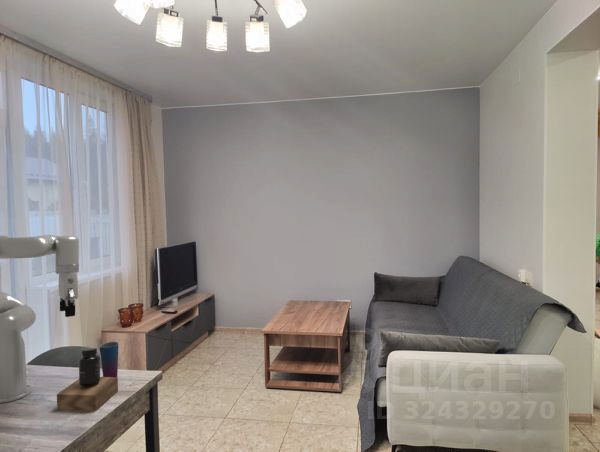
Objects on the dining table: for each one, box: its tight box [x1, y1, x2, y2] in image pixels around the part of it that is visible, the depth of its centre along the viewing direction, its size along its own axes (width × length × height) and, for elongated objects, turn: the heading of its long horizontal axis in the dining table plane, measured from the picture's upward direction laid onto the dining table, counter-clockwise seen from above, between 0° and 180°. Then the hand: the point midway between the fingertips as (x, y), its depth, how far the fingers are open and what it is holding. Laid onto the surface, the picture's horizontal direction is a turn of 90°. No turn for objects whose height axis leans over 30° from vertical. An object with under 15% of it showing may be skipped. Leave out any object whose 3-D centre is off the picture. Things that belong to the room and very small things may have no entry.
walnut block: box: [56, 376, 119, 412], centre depth 140 cm, size 14×14×6 cm
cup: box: [99, 341, 119, 377], centre depth 155 cm, size 7×7×15 cm
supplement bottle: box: [78, 347, 101, 385], centre depth 141 cm, size 7×7×12 cm
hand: (67, 313), depth 146 cm, fingers open, 9 cm apart
